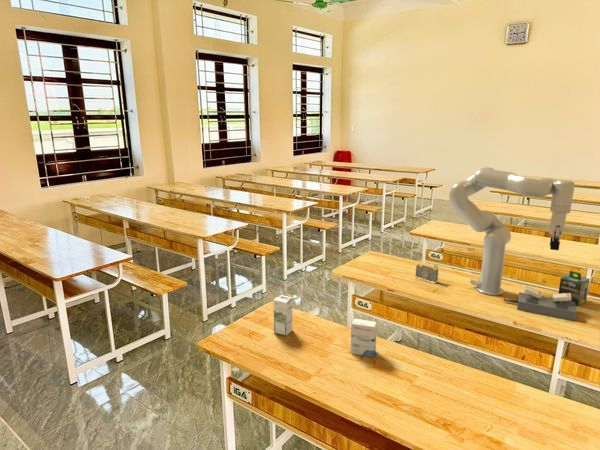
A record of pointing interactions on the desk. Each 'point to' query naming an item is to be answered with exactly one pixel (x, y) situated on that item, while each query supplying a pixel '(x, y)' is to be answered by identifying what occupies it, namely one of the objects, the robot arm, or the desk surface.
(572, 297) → the chalk box
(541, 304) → the power strip
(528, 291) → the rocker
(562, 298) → the block
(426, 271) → the architectural model on board
